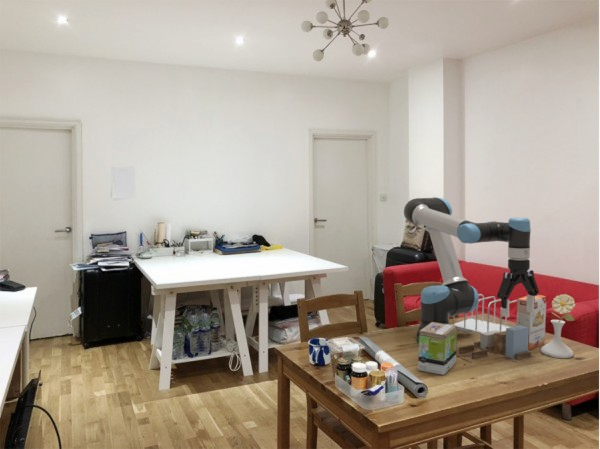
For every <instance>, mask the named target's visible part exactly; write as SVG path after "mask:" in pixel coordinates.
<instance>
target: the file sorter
mask: <svg viewBox="0 0 600 449" xmlns="http://www.w3.org/2000/svg"><path fill="white" fill-rule="evenodd" d="M481 296H482V298H479V301H478V305H477V307H476V309H475V318H474V311H472V312H471V317H470V318H467V313H466V314H463V315H464V317H463V320H461V321H458V322H455V317H456V315H452V323H451V325H456V326H457V331H461V332H465V333H478V334H481V333H484V332H490V331H495V330H498V331H501V332H502V331H506V328H509V327H510V326H508V324H507V322H508V317H505V318H504V319H505V320H504V324H502V322H503V321H502V319H503V316H502V307H500V312H499V314H500V315H499V323H496V311H497V310H496V307H497V306H496V305H497V303H498V302H501V299H500V298H498V299H496V296H493V295H492V296H487V297H485V296H484V294H482V293H478V297H481ZM488 299H493V300H492V301H490V302H489V303H488V305H487V320H484V318H485V317H484V316H485V315H484V314H485V310H484V309H485V307H484V306H485V300H488ZM517 301H518V299H515V300H512V301H509V305H510V304H513V303H516V302H517ZM480 302H482V307H481V308H482V309H481V311H482V314H481V315H482V316H481V317H482V318H481V319H478V313H479V312H478V309H479V303H480ZM493 303H494V304H493ZM492 304H493V306H494V307H493V322H491V321H490V306H491V305H492Z"/></svg>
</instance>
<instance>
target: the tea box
mask: <svg viewBox="0 0 600 449" xmlns="http://www.w3.org/2000/svg"><path fill="white" fill-rule="evenodd" d="M457 335H458V330H457V326H456V325H452V324H450V323H449V324H442V323H435V322H431V323H430V324H428V325H427V326H426V327H424V328H423V329H421V330H420V331H419V343H418V360H417V361H418V362H417V364H418V365H417V370H418V371H421V372H425V373H430V374H436V375H442V376H444V375H445V374H446V373H448V371H449V370H450V369H452V367H453V366H454V365H455V364H456V362H457V357H456V356H457V338H458V337H457Z"/></svg>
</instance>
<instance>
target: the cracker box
mask: <svg viewBox="0 0 600 449" xmlns="http://www.w3.org/2000/svg"><path fill="white" fill-rule="evenodd" d="M517 300H518V301H516V302H517V303H516V304H517V305H516V326H520V325H521V326H525V327H528V351H530V350H533V349H535V348H538V347H540V346H542V347H543V346H544V345H545V341H546V339H545V336H546V316H547V296H545V295H541V294H538V295H537V296H535V302H534V313H531V312H527V295H526V296H523V297H520V298H517Z"/></svg>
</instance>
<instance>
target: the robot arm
mask: <svg viewBox="0 0 600 449" xmlns="http://www.w3.org/2000/svg"><path fill="white" fill-rule="evenodd" d="M403 208H404V209H403V216H404V218H405V220H406V221H407V222H408V223H410V224H412V225H415V226H419V227H420V226H423V228H424V231H426V232H428V233H429V237H430V240H431V243H432V246H433V250H434V254H435V258H436V260H437V263H438V266H439V271H440V273H441V274H440V275H441V278H442V281H443V283H442V284H441V285H439V284H438V285H437V284H436V285H429V286H426V287H424V288H423V289H422V290H421V293H420V324H419V327H418V330H417V333H416V336H415V337H416V338H415V339H416V342H417V343H418V344H419V331H420V330H421V329H423V328H424V327H426V326H427V325H428V324H430V323H431V322H435V323H442V324H449V325H450V316H453V315H455V316H457V315H465V314H466V315H467V313H472V311H473V312H474V311H476V307H477V305H478V306H479V303H478V301H479V299H480V298H479V297H480V296H478V295H479V293H478V290H477V289H476V288H475V287H474V286H472V285H470V283H469V280H468V279H466V278H465V277H464V276H463V273H462V270H461V266H460V262H459V259H458V257H457V253H456V249H455V247H454V243H453V240H452V237H451V236H453V237H456V238H458V240H459V241H460V242H461V243H463V244H478V243H491V242H504V243H508V244H507V245H508V246H507V257H508V260H507V268H508V269H509V272H503V274H502V275H503V276H502V280H501V283H500V285H499V289H498V291H497V294H496V297H497V298H498V299H501V301H500V303H501V304H500V306H501V307H502V317H507V318H510V304H509V302H510V299H509V297H510V295H511V294H512V292H513V290H514V288H515V286H517V285H519V284H522V286H523V287H524V289H525V291H526V292H527V293H528V294H526V296H527V312H531V313H534V302H535V296H537V295H539V293H540V290H539V286H538V284H537V281H536V278H535V275H534V274H535V273H534V270H531V269H530V267H531V262H530V257H531V256H530V252H531V246H530V244H531V231H532V230H531V221H530V219H529V218H528V217H527V218H526V217H510V218H509V219H508V222H502V221H496V220H495V221H494V220H493V221H487V222H473V221H469V220H468V219H463V218H461V217H457V216H454V215H452V214H453V209H452V206H451V204H450V202H449V201H447V200H446V199H444V198H443V197H442V198H441V197H424V198H423V197H421V198H420V197H417V198H413V199H410V200H409V201H407V203H406V204H405V206H404V207H403ZM479 302H480V301H479ZM501 307H500V308H501Z"/></svg>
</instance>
